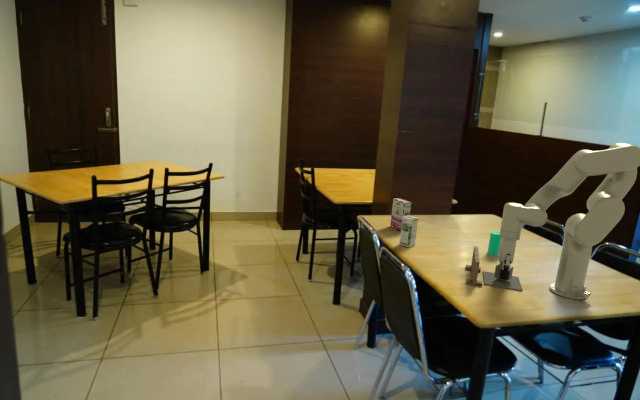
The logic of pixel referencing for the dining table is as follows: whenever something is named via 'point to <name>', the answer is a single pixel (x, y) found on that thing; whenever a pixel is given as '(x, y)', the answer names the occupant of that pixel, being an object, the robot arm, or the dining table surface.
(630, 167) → the robot arm
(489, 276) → the grey mat
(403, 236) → the syrup box
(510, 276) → the dice cube
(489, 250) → the candle
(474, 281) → the walnut screen
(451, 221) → the dining table surface
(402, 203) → the candy bar box
